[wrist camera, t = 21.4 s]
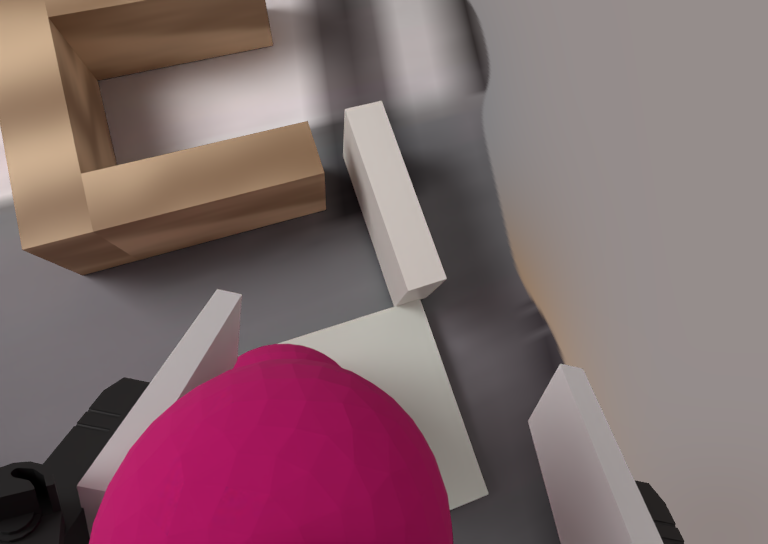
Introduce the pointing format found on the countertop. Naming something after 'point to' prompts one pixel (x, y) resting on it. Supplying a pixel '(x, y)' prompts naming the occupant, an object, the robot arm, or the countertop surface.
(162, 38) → the block
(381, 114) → the white rectangular block
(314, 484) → the pepper mill
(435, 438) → the plate
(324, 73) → the countertop surface
